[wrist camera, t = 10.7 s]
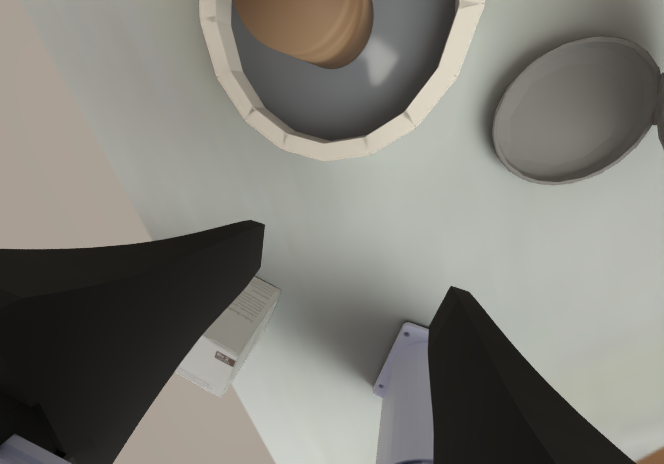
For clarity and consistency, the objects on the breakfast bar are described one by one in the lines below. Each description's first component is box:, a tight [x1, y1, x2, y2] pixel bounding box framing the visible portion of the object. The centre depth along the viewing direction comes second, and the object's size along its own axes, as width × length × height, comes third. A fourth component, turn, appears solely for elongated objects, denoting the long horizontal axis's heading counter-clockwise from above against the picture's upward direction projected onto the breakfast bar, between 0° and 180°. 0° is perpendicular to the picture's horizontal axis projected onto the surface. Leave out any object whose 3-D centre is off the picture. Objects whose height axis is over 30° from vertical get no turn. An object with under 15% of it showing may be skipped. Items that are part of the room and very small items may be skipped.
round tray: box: [199, 0, 485, 161], centre depth 14 cm, size 14×14×2 cm
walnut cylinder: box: [233, 0, 374, 69], centre depth 12 cm, size 4×4×6 cm
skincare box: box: [175, 277, 281, 398], centre depth 23 cm, size 6×6×7 cm
